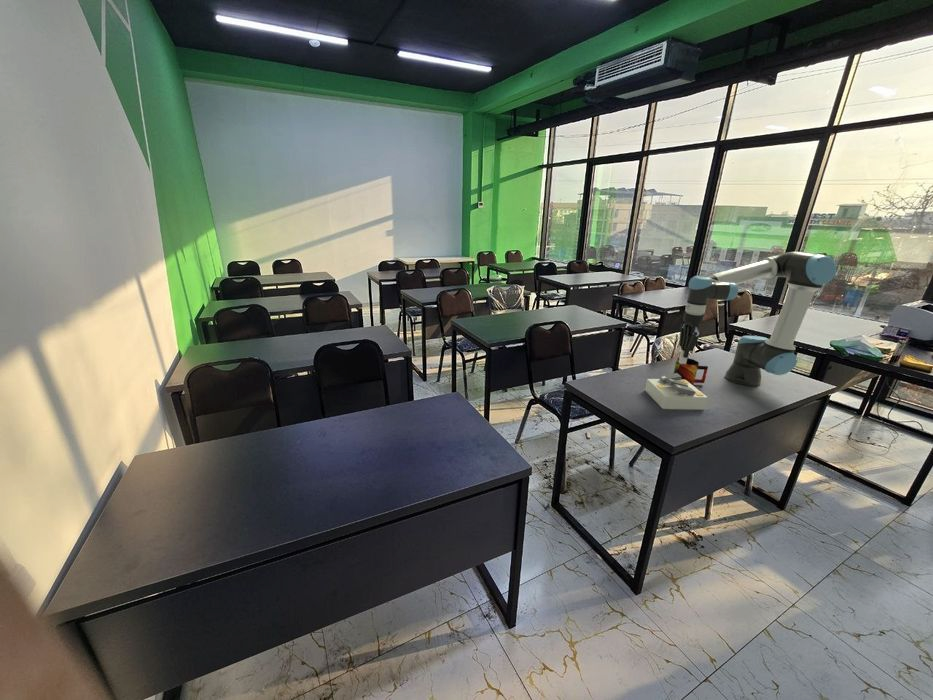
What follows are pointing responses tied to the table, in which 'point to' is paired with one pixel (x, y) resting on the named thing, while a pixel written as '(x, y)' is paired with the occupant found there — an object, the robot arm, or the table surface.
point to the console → (675, 396)
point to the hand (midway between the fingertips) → (682, 363)
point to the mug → (690, 371)
